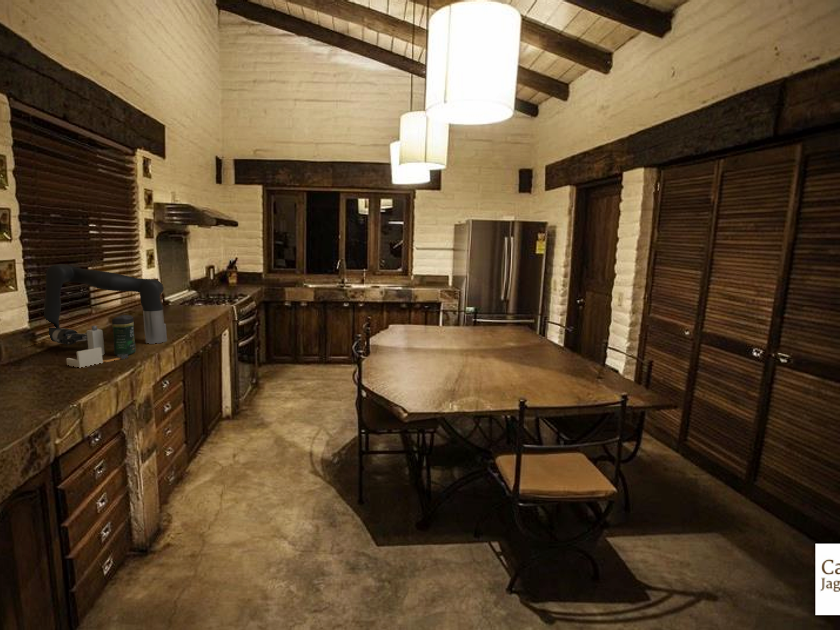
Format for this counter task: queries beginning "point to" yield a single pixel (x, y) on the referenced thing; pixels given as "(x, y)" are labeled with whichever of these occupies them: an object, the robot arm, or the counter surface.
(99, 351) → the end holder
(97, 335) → the white square bottle
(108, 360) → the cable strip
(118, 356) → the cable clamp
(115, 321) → the coffee jar
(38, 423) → the counter surface
